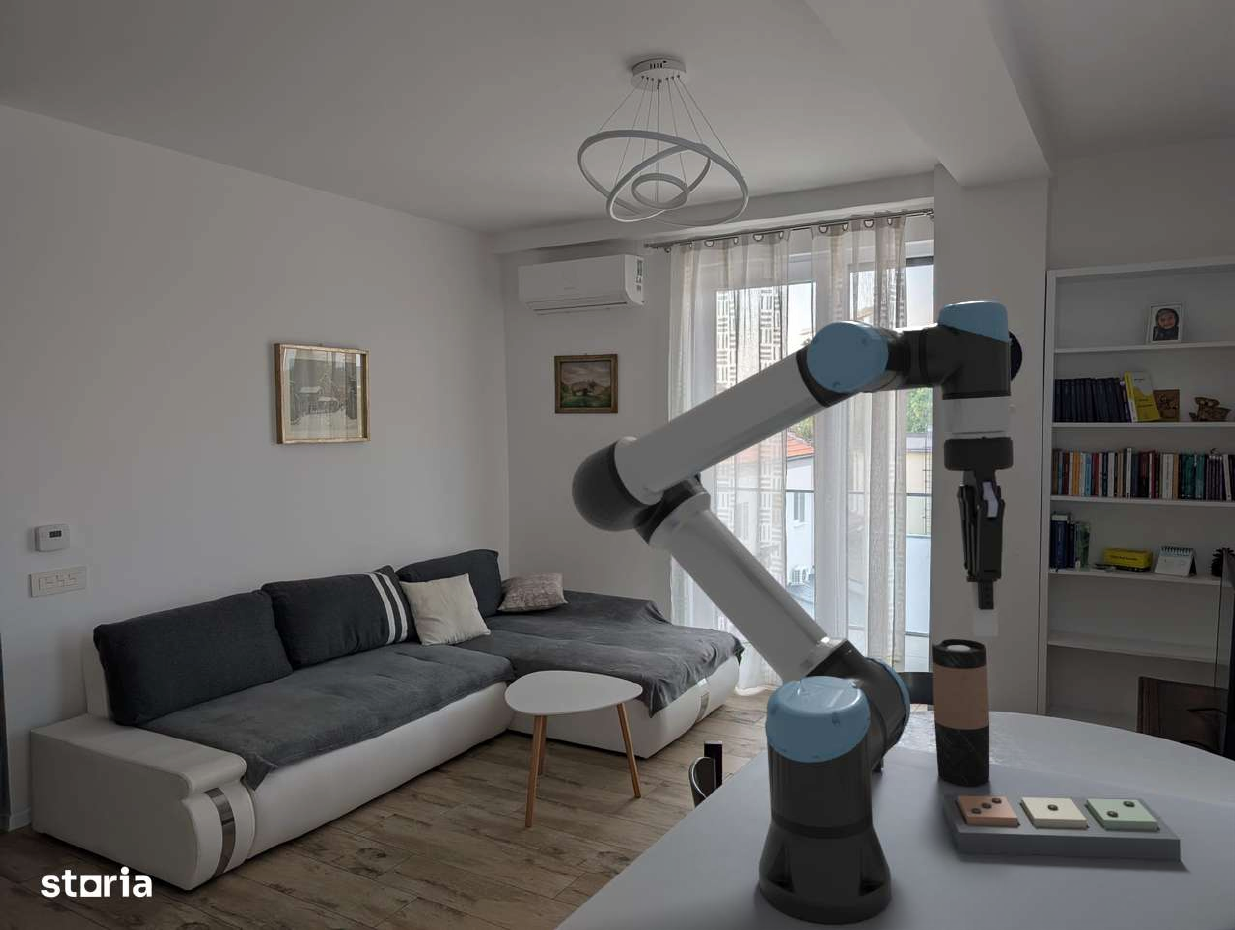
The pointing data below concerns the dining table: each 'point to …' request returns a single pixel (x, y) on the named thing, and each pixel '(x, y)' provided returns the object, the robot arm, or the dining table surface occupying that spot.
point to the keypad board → (1061, 834)
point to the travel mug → (961, 712)
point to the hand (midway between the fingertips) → (984, 634)
